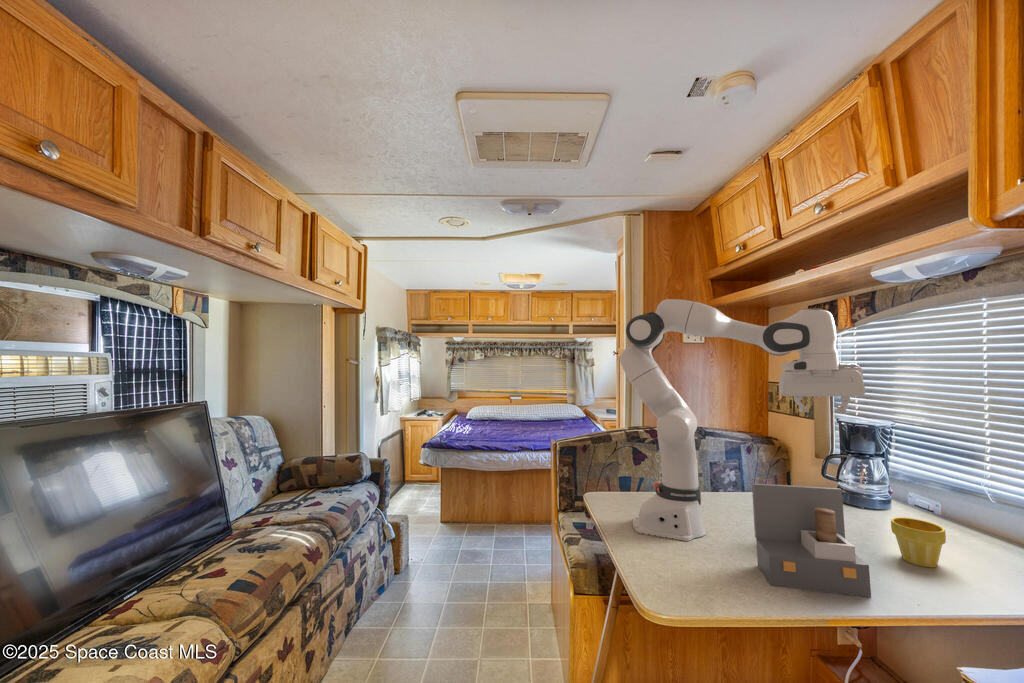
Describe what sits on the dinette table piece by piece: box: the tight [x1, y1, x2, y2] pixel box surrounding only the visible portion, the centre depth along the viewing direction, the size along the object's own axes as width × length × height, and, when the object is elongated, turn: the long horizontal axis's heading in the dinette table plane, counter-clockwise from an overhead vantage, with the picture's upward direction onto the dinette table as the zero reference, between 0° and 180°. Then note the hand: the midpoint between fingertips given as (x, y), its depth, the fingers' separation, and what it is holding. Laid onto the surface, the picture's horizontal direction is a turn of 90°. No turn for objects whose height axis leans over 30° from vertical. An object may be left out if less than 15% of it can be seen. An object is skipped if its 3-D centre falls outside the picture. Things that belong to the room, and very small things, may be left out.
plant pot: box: [890, 516, 947, 568], centre depth 107 cm, size 10×10×10 cm
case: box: [751, 482, 872, 598], centre depth 99 cm, size 20×12×21 cm, turn 74°
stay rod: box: [815, 508, 837, 543], centre depth 98 cm, size 4×4×10 cm
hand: (822, 412), depth 115 cm, fingers open, 8 cm apart
